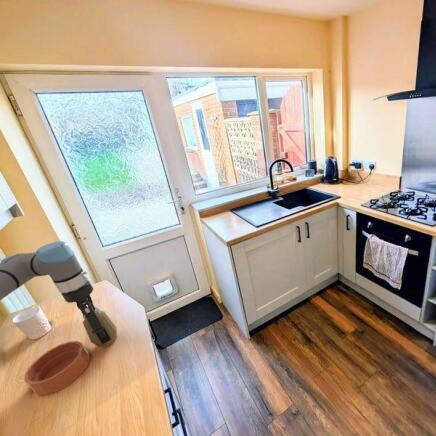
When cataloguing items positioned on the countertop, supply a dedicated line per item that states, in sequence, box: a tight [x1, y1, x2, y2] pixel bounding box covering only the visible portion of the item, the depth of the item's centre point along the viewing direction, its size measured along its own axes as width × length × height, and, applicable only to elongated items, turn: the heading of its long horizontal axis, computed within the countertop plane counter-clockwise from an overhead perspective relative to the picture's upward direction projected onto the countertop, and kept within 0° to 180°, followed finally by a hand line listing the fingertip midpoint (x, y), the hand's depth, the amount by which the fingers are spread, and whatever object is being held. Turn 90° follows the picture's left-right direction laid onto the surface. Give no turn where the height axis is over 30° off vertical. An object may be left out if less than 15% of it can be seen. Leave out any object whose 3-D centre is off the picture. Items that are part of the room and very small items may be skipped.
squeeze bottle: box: [82, 306, 118, 348], centre depth 87 cm, size 8×8×18 cm
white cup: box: [12, 306, 52, 340], centre depth 96 cm, size 8×8×10 cm
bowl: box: [24, 340, 91, 396], centre depth 80 cm, size 14×14×6 cm
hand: (104, 334), depth 90 cm, fingers closed on squeeze bottle, 8 cm apart
